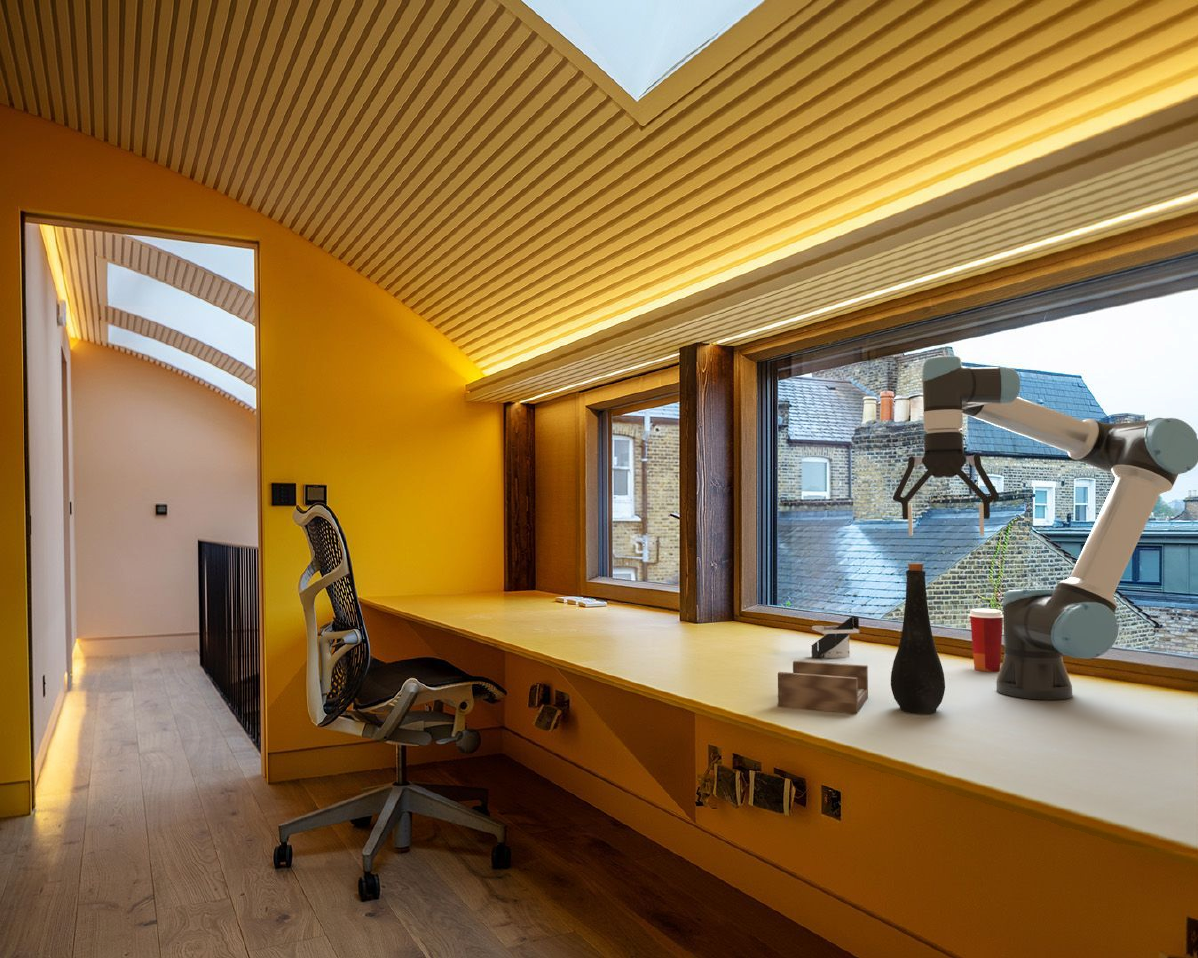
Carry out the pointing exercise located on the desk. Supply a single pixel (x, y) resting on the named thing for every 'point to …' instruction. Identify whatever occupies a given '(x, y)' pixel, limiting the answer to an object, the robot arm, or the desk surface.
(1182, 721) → the desk surface
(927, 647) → the bottle
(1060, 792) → the desk surface
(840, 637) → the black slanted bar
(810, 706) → the cradle
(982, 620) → the coffee cup
